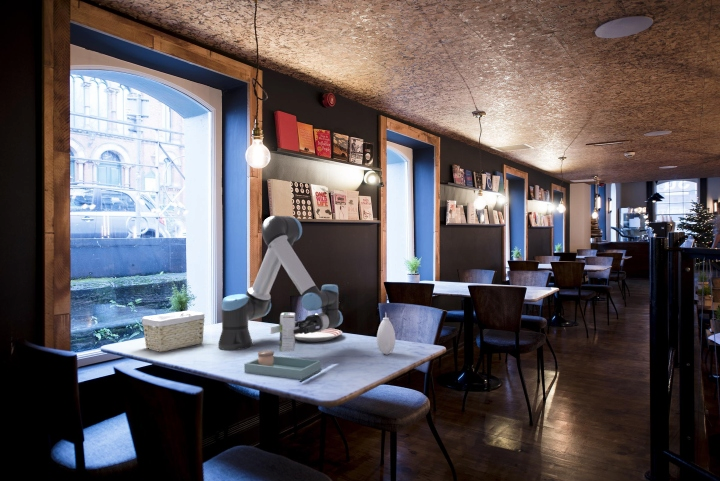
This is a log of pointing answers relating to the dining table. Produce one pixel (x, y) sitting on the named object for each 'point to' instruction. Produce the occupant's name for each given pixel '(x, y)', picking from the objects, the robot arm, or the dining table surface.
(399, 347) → the dining table surface
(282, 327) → the syrup box
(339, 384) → the dining table surface
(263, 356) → the jar
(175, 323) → the storage basket
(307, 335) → the dinner plate
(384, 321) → the air blower bulb
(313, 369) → the tray
